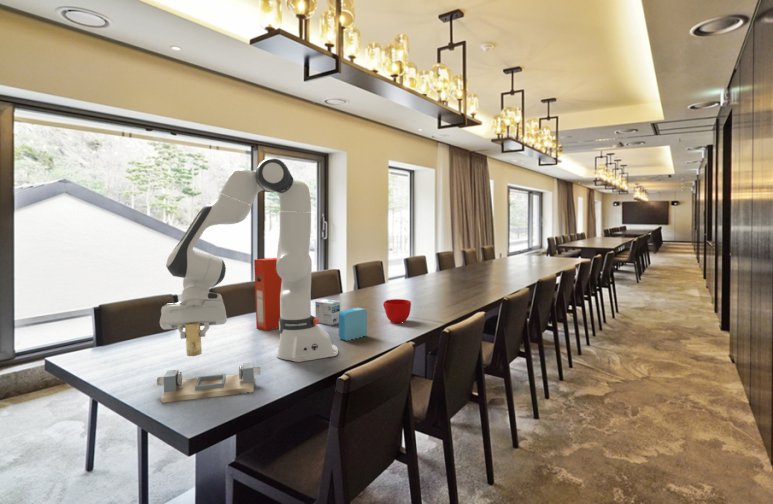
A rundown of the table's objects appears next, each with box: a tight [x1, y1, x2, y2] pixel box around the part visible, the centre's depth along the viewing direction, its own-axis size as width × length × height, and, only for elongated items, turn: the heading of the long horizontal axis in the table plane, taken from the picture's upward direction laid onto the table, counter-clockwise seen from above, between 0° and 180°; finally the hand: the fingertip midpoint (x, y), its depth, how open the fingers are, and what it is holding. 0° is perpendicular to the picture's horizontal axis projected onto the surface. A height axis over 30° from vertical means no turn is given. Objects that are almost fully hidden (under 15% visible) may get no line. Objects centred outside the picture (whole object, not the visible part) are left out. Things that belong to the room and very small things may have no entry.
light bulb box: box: [314, 298, 341, 326], centre depth 202 cm, size 11×7×11 cm, turn 58°
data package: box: [338, 307, 368, 342], centre depth 176 cm, size 12×4×12 cm, turn 133°
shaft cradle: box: [156, 362, 261, 404], centre depth 123 cm, size 28×12×6 cm, turn 107°
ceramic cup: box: [383, 298, 412, 324], centre depth 205 cm, size 13×17×10 cm
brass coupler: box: [184, 322, 203, 357], centre depth 136 cm, size 4×4×10 cm
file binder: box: [253, 257, 282, 332], centre depth 195 cm, size 8×17×32 cm, turn 139°
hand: (193, 336), depth 135 cm, fingers closed on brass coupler, 4 cm apart
